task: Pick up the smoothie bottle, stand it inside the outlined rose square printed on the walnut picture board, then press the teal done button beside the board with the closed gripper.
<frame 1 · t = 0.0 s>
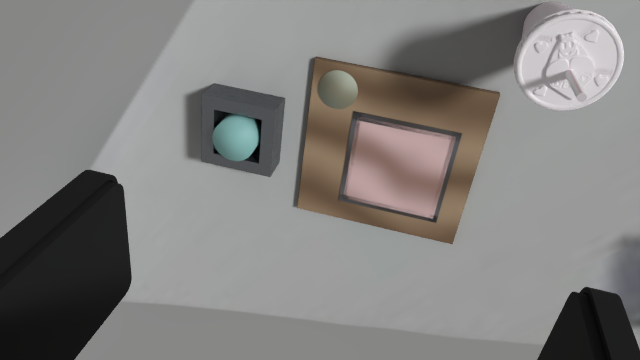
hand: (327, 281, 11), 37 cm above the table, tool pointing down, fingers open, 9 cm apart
smoothie: (547, 25, 42), on the table
done button: (238, 134, 50), point 2 cm above the table, slide at 0.0 cm
button housing: (247, 124, 52), on the table
picture board: (388, 154, 50), on the table
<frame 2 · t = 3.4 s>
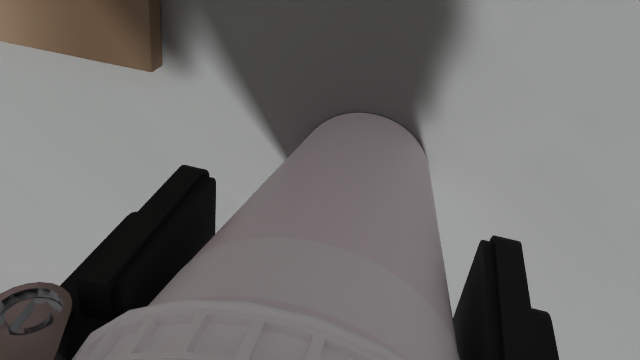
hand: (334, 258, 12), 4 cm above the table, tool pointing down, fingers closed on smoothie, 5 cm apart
smoothie: (363, 170, 15), on the table, touching gripper
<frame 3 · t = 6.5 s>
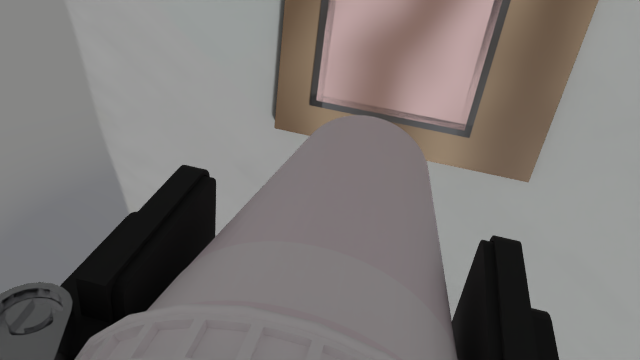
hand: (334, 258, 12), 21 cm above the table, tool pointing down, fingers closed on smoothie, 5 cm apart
smoothie: (363, 172, 15), point 17 cm above the table, touching gripper
picture board: (426, 23, 30), on the table
when the fingers open (5 cm above the table, at t = 10.0 s): smoothie stays where it is, resting on picture board.
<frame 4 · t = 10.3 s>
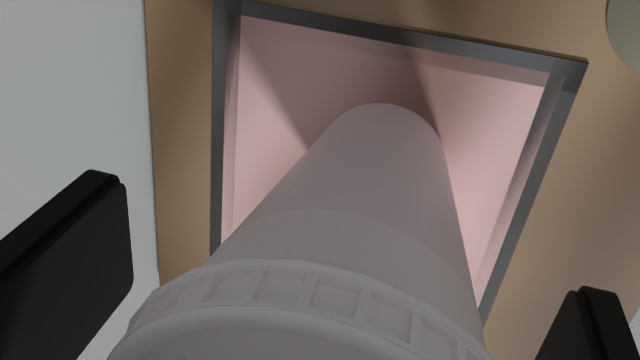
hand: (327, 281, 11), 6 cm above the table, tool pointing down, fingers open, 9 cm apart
smoothie: (382, 158, 16), point 1 cm above the table, touching picture board
picture board: (403, 154, 16), on the table
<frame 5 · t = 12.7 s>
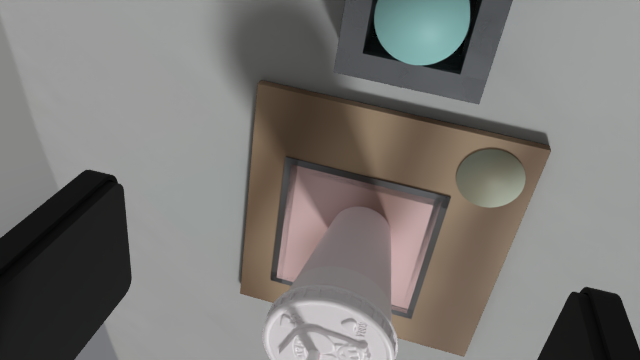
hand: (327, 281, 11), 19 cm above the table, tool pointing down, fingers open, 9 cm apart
smoothie: (361, 230, 33), point 1 cm above the table, touching picture board
done button: (423, 11, 24), point 2 cm above the table, slide at 0.0 cm
picture board: (372, 227, 33), on the table
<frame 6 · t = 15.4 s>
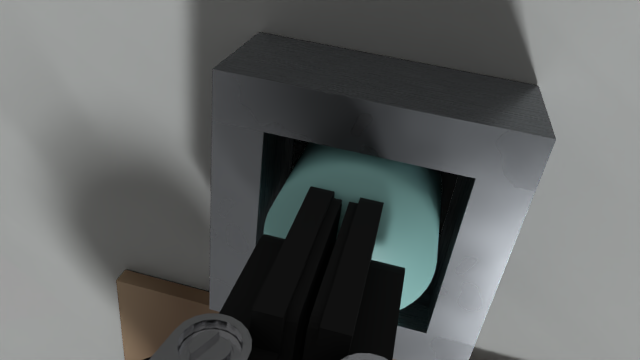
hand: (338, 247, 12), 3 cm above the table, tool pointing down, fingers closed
done button: (358, 215, 13), point 2 cm above the table, slide at 0.6 cm, touching gripper
button housing: (370, 177, 15), on the table
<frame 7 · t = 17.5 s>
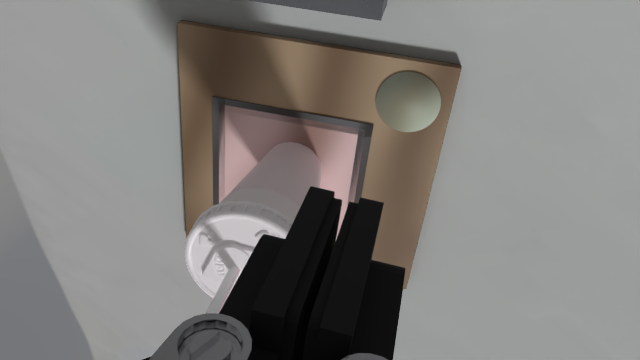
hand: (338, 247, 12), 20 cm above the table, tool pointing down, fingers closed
smoothie: (294, 166, 34), point 1 cm above the table, touching picture board
picture board: (305, 164, 34), on the table
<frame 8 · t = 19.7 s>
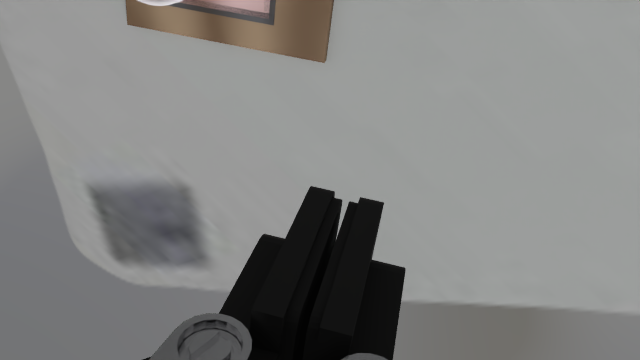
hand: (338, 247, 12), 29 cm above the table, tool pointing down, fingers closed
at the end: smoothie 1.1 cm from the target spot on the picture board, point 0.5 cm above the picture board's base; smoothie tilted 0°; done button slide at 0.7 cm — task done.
